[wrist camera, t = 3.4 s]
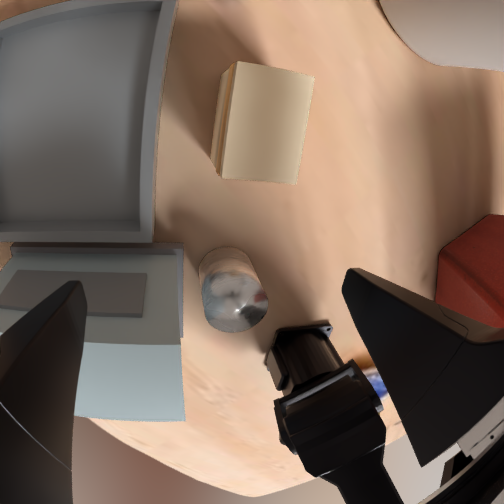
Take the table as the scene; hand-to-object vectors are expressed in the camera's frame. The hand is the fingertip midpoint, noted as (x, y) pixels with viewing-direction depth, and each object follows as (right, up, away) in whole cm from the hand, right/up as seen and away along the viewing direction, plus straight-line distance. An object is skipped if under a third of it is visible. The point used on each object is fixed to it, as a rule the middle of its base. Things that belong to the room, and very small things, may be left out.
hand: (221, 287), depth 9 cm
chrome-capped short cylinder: (-1, 0, +15) cm, 15 cm away
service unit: (-12, -2, +13) cm, 18 cm away
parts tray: (-12, +10, +6) cm, 17 cm away
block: (0, +10, +9) cm, 14 cm away
